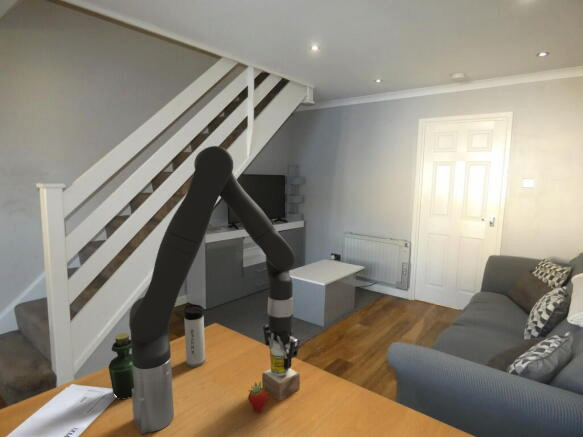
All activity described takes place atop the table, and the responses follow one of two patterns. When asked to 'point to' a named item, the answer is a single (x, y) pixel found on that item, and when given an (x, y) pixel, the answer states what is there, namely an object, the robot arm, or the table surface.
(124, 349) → the potion bottle
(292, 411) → the table surface
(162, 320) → the robot arm
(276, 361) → the supplement bottle
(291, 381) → the wooden block
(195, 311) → the travel mug
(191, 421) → the table surface
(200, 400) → the table surface
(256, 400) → the fruit
